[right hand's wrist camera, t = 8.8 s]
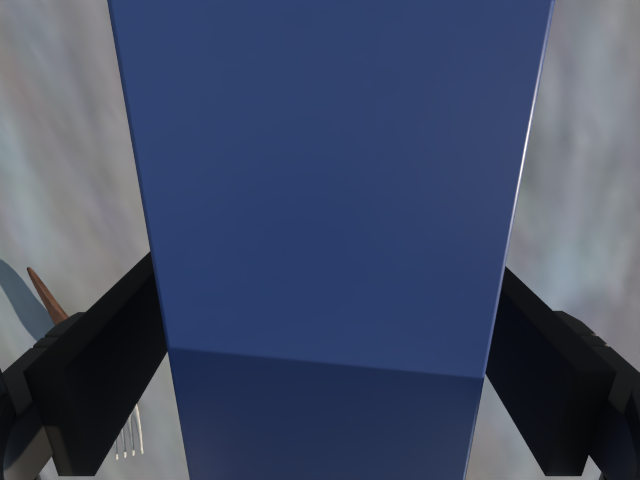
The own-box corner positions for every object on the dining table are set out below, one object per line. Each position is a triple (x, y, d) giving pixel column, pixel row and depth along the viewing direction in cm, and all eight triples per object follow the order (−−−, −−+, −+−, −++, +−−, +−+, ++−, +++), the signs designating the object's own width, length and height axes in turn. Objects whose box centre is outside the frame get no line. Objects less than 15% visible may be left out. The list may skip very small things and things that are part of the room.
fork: (51, 258, 26) (29, 272, 24) (155, 432, 31) (144, 453, 29) (16, 269, 26) (-7, 283, 24) (126, 439, 31) (113, 460, 30)
